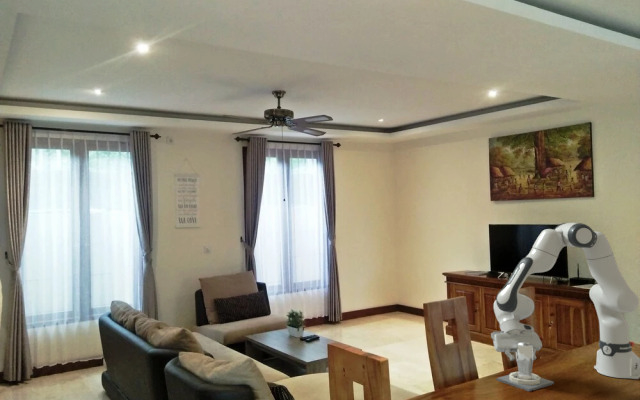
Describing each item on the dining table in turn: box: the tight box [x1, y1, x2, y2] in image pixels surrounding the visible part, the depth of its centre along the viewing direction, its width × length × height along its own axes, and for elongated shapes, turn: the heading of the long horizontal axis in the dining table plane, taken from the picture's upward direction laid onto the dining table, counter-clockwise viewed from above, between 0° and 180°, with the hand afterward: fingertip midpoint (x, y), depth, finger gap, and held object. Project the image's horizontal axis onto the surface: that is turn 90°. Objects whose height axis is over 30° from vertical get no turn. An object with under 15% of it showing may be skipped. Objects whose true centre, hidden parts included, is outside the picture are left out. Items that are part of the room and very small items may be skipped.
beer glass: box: [515, 342, 534, 380], centre depth 209 cm, size 7×7×15 cm
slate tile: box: [496, 371, 555, 392], centre depth 209 cm, size 16×16×2 cm
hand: (523, 359), depth 209 cm, fingers open, 8 cm apart
